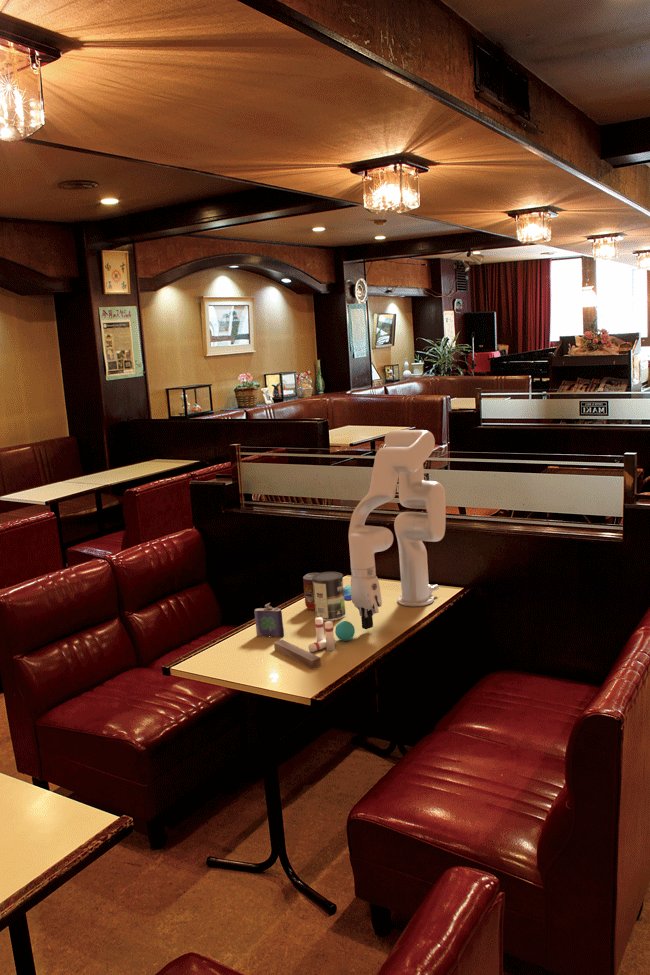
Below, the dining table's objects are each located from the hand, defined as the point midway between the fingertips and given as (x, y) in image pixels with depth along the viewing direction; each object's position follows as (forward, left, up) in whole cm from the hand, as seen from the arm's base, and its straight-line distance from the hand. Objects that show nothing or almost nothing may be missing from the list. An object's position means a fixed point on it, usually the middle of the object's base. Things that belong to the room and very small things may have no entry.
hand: (367, 627), depth 235 cm
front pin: (+13, 0, 0) cm, 13 cm away
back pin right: (+16, -2, -2) cm, 17 cm away
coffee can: (-1, -21, -2) cm, 21 cm away
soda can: (-2, -31, -2) cm, 31 cm away
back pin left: (+16, +3, -2) cm, 17 cm away
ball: (+9, 0, +2) cm, 9 cm away
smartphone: (-20, -35, -2) cm, 40 cm away
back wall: (+27, 0, -2) cm, 27 cm away
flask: (+23, -21, -2) cm, 31 cm away
